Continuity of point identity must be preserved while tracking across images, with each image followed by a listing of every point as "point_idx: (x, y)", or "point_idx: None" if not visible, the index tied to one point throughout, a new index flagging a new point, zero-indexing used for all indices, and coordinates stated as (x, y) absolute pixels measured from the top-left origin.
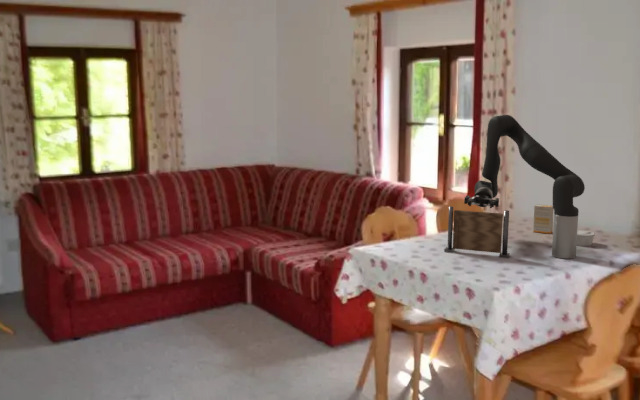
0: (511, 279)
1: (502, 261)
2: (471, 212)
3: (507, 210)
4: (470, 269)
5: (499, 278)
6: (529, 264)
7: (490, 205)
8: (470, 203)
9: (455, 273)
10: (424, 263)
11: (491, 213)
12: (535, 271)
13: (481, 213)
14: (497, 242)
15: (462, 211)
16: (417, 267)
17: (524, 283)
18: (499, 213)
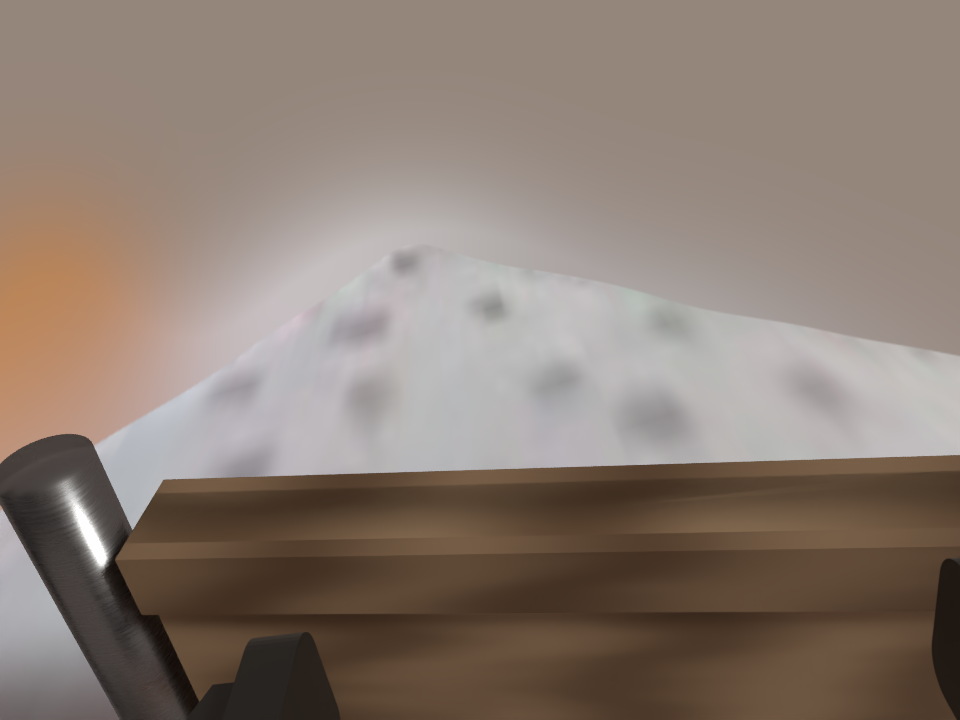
0: (319, 363)
1: None
2: (735, 464)
3: (14, 487)
4: (566, 425)
5: (382, 356)
6: (92, 691)
7: (311, 667)
8: (949, 599)
9: (633, 344)
10: (930, 430)
11: (342, 497)
12: None
13: (532, 474)
14: None
15: (943, 467)
16: (905, 353)
17: (263, 340)
18: (182, 549)
